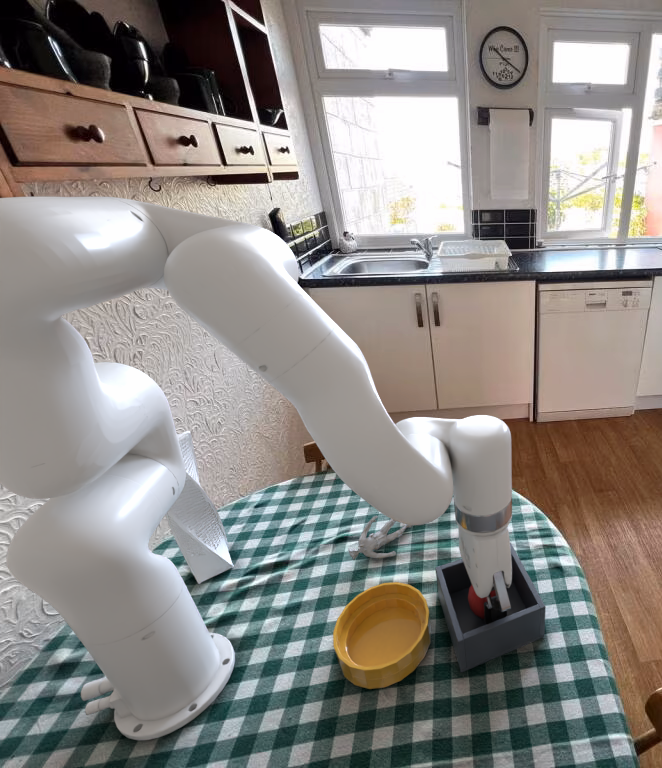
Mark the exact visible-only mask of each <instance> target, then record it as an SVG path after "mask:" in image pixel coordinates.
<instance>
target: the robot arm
mask: <svg viewBox="0 0 662 768" xmlns="http://www.w3.org/2000/svg"><path fill="white" fill-rule="evenodd" d="M299 276H300V270H299V264H298V261H297V258H296V256H295V254H294V252H293V251H292V249H291V248H290V247H289V246H288V245H287V243H286V242H285V241H284V240H283V239H282V238H281V237H280V236H278V235H277V234H275V233H274V232H272V231H270V230H269V229H266V228H264V227H261V226H259V225H257V224H253V223H248V222H243V221H237V220H232V219H228V218H222V217H218V216H212V215H207V214H202V213H198V212H192V211H188V210H183V209H179V208H174V207H170V206H169V207H168V206H164V205H160V204H155V203H150V202H146V201H141V200H135V199H129V198H123V197H114V196H99V195H98V196H55V195H54V196H50V195H49V196H48V195H47V196H46V195H45V196H13V197H11V196H10V197H0V485H1V486H2V487H4V488H5V489H6V490H7V491H9V492H11V493H13V494H15V495H16V496H19V497H22V498H27V499H32V500H33V499H35V500H47V501H45V502H44V503H43V504H42V505H41V506H40V507H38V508H37V509H36V510H35V511H34V512H33V513H32V514H31V515H30V516H28V518H27V519H26V520H25V521H24V522H23V523H22V524H21V526H20V527H19V528H18V529H17V530H16V532H15V534H14V536H13V537H12V539H11V540H10V542H9V544H8V547H7V551H6V557H5V559H6V560H5V561H6V566H7V570H8V571H9V573H10V574H11V575H12V577H14V579H15V580H16V581H18V583H20V584H21V585H23V586H24V587H25V588H27V589H28V590H30V591H31V592H32V593H34V594H35V595H36V596H38V597H40V598H41V599H42V600H44V601H45V602H46V603H47V604H48V605H50V606H51V607H52V608H53V609H54V610H55V611H56V613H58V614H59V615H60V616H61V618H62V619H63V620H64V621H65V623H66V624H67V625H68V626H69V628H70V629H71V631H72V632H73V633H74V635H75V636H76V638H77V639H78V640H79V641H80V643H81V644H82V645H83V646H84V648H85V649H86V651H87V652H88V654H89V655H90V656H91V658H92V659H93V661H94V662H95V663H96V665H97V666H98V668H99V669H100V671H102V673H103V675H104V677H100V678H98V679H95V680H91V681H89V682H86V683H84V684H83V686H82V687H81V690H80V698H81V700H82V701H83V702H86V701H88V702H87V703H86V705H85V709H84V713H85V716H90V715H94V714H96V713H100V712H102V711H103V710H106V709H108V708H110V709H111V710H114V711H113V716H114V717H113V718H114V723H115V726H116V728H117V730H118V731H119V732H120V733H121V735H122V736H125V738H127V739H131V740H134V741H150V740H153V739H159V738H161V737H163V736H166V735H169V734H171V733H173V732H175V731H177V730H178V729H181V728H182V727H184V726H186V725H187V724H189V723H190V722H192V721H193V720H194V719H196V718H197V717H198V716H200V714H202V713H203V712H204V711H205V710H206V709H208V707H209V706H210V705H211V704H212V703H213V702H214V701H215V700H216V699H217V697H218V696H219V695H220V694H221V693H222V691H223V690H224V689H225V687H226V685H227V683H228V682H229V680H230V678H231V676H232V673H233V670H234V667H235V663H236V652H235V650H234V649H235V648H234V647H233V645H232V642H231V641H230V639H228V638H227V637H226V636H224V635H222V634H220V633H217V632H216V633H215V632H210V631H209V630H208V628H207V625H206V623H205V621H204V619H203V617H202V615H201V613H200V611H199V609H198V607H197V605H196V602H195V601H194V599H193V597H192V595H191V593H190V591H189V589H188V587H187V585H186V583H185V581H184V579H183V577H182V576H181V574H180V572H179V570H178V568H177V566H176V565H175V564H174V563H173V561H171V560H170V559H169V557H166V556H165V555H161V554H157V553H154V552H152V550H150V547H149V542H150V540H151V537H152V535H153V533H155V532H156V529H157V528H159V526H160V524H161V522H162V520H163V519H164V517H166V516H165V515H166V513H167V512H168V511H169V509H170V508H171V507H172V505H173V504H174V503H175V501H176V500H177V498H178V497H179V495H180V493H181V492H182V490H183V487H184V484H185V479H186V472H185V465H184V460H183V456H182V452H181V448H180V444H179V440H178V436H177V434H178V432H177V428H176V425H175V421H174V417H173V412H172V409H171V406H170V403H169V401H168V398H167V396H166V394H165V392H164V391H163V389H162V388H161V387H160V386H159V384H158V383H157V382H156V381H155V380H154V379H153V378H152V377H150V376H149V375H148V374H146V372H144V371H141V370H140V369H138V368H136V367H134V366H131V365H128V364H124V363H120V362H115V361H114V362H113V361H99V362H95V361H94V357H93V354H92V350H91V349H90V347H89V346H88V343H87V342H86V340H85V338H84V336H82V334H81V333H80V332H79V331H78V330H77V329H76V328H75V326H74V325H72V324H71V322H69V321H68V320H67V319H66V318H65V317H63V316H65V315H66V314H70V313H72V312H75V311H78V310H81V309H86V308H90V307H93V306H96V305H99V304H102V303H105V302H108V301H111V300H115V299H118V298H121V297H124V296H126V295H129V294H131V293H134V292H137V291H139V290H142V289H155V290H157V289H158V290H163V291H168V293H169V295H170V297H171V298H172V299H173V300H174V302H175V303H176V305H178V306H179V308H180V309H181V311H183V312H184V313H185V314H187V316H189V317H190V318H191V319H192V320H193V321H195V323H197V324H198V325H199V326H200V327H202V329H204V330H205V331H206V332H207V333H209V334H210V335H211V336H212V337H213V338H215V339H216V340H217V341H218V342H219V343H220V344H222V345H223V346H224V347H225V348H226V349H227V350H228V351H230V352H231V353H232V354H234V355H235V356H236V357H237V358H238V359H240V360H241V361H242V362H243V363H244V364H245V365H246V366H248V367H249V368H250V369H251V370H252V371H253V372H254V373H256V374H257V375H258V376H260V377H261V378H262V380H264V381H266V382H267V383H268V384H269V385H270V386H271V387H273V388H274V389H275V390H276V391H277V392H279V394H281V395H282V396H283V398H285V399H286V400H288V402H289V403H290V404H292V406H293V407H294V409H295V410H296V411H297V413H298V415H299V417H300V419H301V422H302V423H303V425H304V427H305V429H306V430H307V432H308V434H309V435H310V437H311V439H312V440H313V441H314V443H315V444H316V446H317V448H318V449H319V451H320V453H321V454H322V456H323V457H324V459H325V461H326V462H327V463H328V465H329V466H330V468H331V469H332V471H333V472H334V473H335V474H336V475H337V476H338V478H339V479H340V480H341V481H342V483H344V484H345V485H346V486H347V488H349V490H351V491H352V492H354V493H355V494H356V495H357V496H358V497H360V498H361V499H362V500H363V501H365V502H366V503H367V504H369V505H370V506H371V507H372V508H374V509H375V510H376V511H378V512H379V513H380V514H382V515H383V516H385V517H387V518H389V519H393V520H395V521H396V522H397V523H400V524H403V525H406V524H408V525H413V526H423V525H428V524H429V523H433V522H434V521H436V520H437V519H439V518H440V517H442V516H443V515H444V514H445V512H447V510H448V509H449V508H450V505H451V504H452V500H453V507H454V517H455V523H456V525H457V530H458V533H457V534H458V535H457V536H458V550H459V554H460V557H461V559H462V560H463V562H464V565H465V568H466V570H467V573H468V575H469V578H470V584H471V585H473V588H474V590H475V592H476V594H477V595H478V596H479V597H480V598H484V597H485V599H486V602H485V603H484V618H485V623H486V624H489V623H492V622H494V621H497V620H499V619H502V618H504V617H506V616H507V610H509V609H511V606H510V602H509V598H508V594H507V590H506V587H508V588H509V587H510V585H511V581H512V561H511V549H510V542H511V541H510V540H511V539H510V533H509V525H510V523H511V522H512V519H513V481H512V480H513V478H512V477H513V475H512V472H513V471H512V470H513V469H512V463H513V462H512V434H511V433H512V432H511V431H510V427H509V426H508V424H506V423H505V421H503V419H500V418H499V417H496V416H492V415H489V414H488V415H486V414H477V415H471V416H467V417H464V418H462V419H461V418H460V419H457V418H438V417H426V416H413V417H408V418H405V419H402V420H399V421H398V422H396V423H395V422H394V420H393V419H392V417H391V416H390V414H389V413H388V411H387V409H386V408H385V406H384V404H383V402H382V400H381V398H380V396H379V393H378V391H377V388H376V385H375V382H374V378H373V376H372V373H371V370H370V367H369V364H368V362H367V360H366V357H365V356H364V353H363V352H362V350H361V349H360V347H359V345H358V344H357V343H356V342H355V341H354V340H353V339H352V338H351V337H350V336H349V334H347V333H346V332H345V331H344V330H343V329H342V328H341V326H339V325H338V324H337V323H336V322H335V320H333V319H332V318H331V317H330V316H329V315H328V313H326V312H325V310H323V308H321V307H320V306H319V305H318V304H317V303H316V302H315V301H314V300H313V299H312V297H311V296H310V295H309V294H308V293H307V292H306V291H305V290H304V289H303V288H302V287H301V286H300V285H299V284H298V282H299ZM494 590H495V592H496V596H494V597H491V595H490V592H491V591H494ZM110 692H111V694H110V695H108V696H105V697H101V698H98V699H94V698H97V697H100V696H103V695H105V694H107V693H110ZM92 699H94V700H92ZM89 700H92V701H89Z"/></svg>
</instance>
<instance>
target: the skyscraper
mask: <svg viewBox="0 0 662 768" xmlns="http://www.w3.org/2000/svg"><path fill="white" fill-rule="evenodd" d="M177 436H178V440H179V444H180V448H181V452H182V456H183V460H184V465H185V472H186V479H185V484H184V487H183V490H182V492H181V493H180V495H179V497H178V498H177V500H176V501H175V503H174V504H173V505H172V507H171V508H170V509H169V511H168V512H167V513H166V515H165V516H164V517H165V518H166V521H167V523H168V527H169V529H170V531H171V533H172V536H173V538H174V540H175V542H176V544H177V547H178V549H179V550H180V552H181V555H182V556H183V558H184V560H185V563H186V564H187V566H188V568H189V569H190V571H191V573H192V575H193V577H194V579H195V580H196V583H197V584H198V585H200V584H202V583H203V582H205V581H208V580H210V579H211V578H213V577H216V576H218V575H220V574H222V573H224V572H226V571H228V570H231V569H234V568H235V565H234V564H233V561H232V558H231V555H230V552H229V550H230V546H229V541H228V538H227V534H226V533H227V532H226V530H225V527H224V524H223V521H222V519H221V516H220V514H219V512H218V509H217V508H216V506H215V504H214V503H213V501H212V499H211V498H210V497H209V495H208V494H207V493H206V491H205V490H204V488H203V487H202V486H201V482H200V477H199V469H198V468H199V467H198V462H197V456H196V451H195V446H194V442H193V437H192V433H191V431H190V430H185V431H184V432H183V431H182V433H177Z"/></svg>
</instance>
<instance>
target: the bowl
mask: <svg viewBox="0 0 662 768" xmlns="http://www.w3.org/2000/svg"><path fill="white" fill-rule="evenodd" d="M428 605H429V604H428V602H427V599H426V597H425V596H424V595H423V593H422V592H421V591H420V590H419V589H417V588H416V587H414V586H412V585H411V584H409V583H408V584H407V583H404V582H399V581H395V582H392V581H391V582H383V583H379V584H377V585H374V586H370V587H368V588H367V589H365V590H363V591H362V592H360V593H358V594H357V595H356V596H355V597H354V598H353V599H352V600H350V602H349V603H347V604H346V605H345V607H344V608H343V609H342V611H341V612H340V614H339V616H338V617H337V619H336V623H335V625H334V627H333V631H332V641H333V642H332V645H333V646H332V647H333V650H334V653H335V656H336V659H337V663H338V666H339V668H340V670H341V672H342V674H343V676H344V678H346V679H347V680H348V681H349V682H350V683H352V684H353V685H354V686H357V687H360V688H363V689H364V688H365V689H366V690H367V689H368V690H372V689H373V690H374V689H382V688H383V689H384V688H386V687H390V686H391V685H394V684H396V683H398V682H401V681H402V680H404V679H405V678H406V677H408V676H409V675H410V674H412V673H413V672H414V671H415V670H416V669H417V668H418V666H419V665H420V663H422V661H423V660H424V658H425V657H426V654H427V652H428V649H429V648H430V644H431V640H432V631H433V630H432V622H431V615H430V610H429V606H428Z"/></svg>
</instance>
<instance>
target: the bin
mask: <svg viewBox="0 0 662 768" xmlns="http://www.w3.org/2000/svg"><path fill="white" fill-rule="evenodd" d="M510 549H511V561H512V581H511V585H510V587H509V588H508V587H506V590H507V594H508V598H509V602H510V606H511V609H509V610H507V616H506V617H504V618H502V619H499V620H497V621H494V622H492V623H489V624H486V623H485V619H482V618H480V617H479V616H477V615H475V614H474V613H473V611H472V610H471V609H470V605H469V601H468V594H469V588H470V587H471V584H470V578H469V575H468V573H467V570H466V568H465V565H464V562H463V560H462V558H459V559H456V560H453V561H450V562H448V563H444V564H442V565H438V566H436V567H435V568H434V569H435V577H436V585H437V593H438V599H439V602H440V606H441V609H442V612H443V616H444V619H445V623H446V626H447V631H448V634H449V636H450V640H451V643H452V647H453V650H454V654H455V657H456V660H457V661H456V662H457V664H458V668H459V671H460V673H464V672H466V671H469V670H471V669H473V668H475V667H478V666H480V665H483V664H485V663H488V662H489V661H492V660H495V659H496V658H499V657H501V656H503V655H506V654H508V653H510V652H513V651H515V650H517V649H520V648H522V647H524V646H526V645H529V644H532V643H534V642H536V641H538V640H541V639H542V638H545V629H546V627H545V626H546V625H545V624H546V605H545V603H544V601H543V599H542V597H541V596H540V594H539V592H538V590H537V588H536V586H535V584H534V583H533V581H532V579H531V577H530V575H529V574H528V572H527V570H526V568H525V567H524V565H523V563H522V561H521V558H520V557H519V555H518V553H517V551H516V550H515V548H514V546H513V544H512V542H511V541H510Z"/></svg>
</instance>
